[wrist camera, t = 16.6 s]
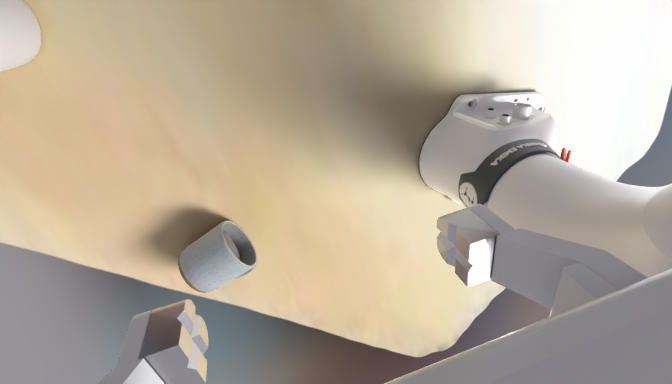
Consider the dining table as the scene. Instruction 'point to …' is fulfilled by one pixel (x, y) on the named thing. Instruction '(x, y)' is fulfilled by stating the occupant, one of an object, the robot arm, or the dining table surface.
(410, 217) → the dining table surface
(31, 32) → the milk bottle
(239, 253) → the ceramic mug
